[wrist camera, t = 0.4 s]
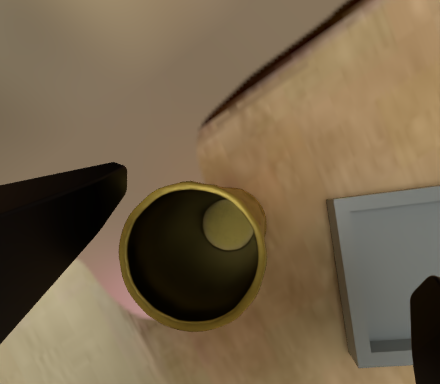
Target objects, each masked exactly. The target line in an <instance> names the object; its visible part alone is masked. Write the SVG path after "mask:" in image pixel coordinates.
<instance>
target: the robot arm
mask: <svg viewBox="0 0 440 384" xmlns="http://www.w3.org/2000/svg"><path fill="white" fill-rule="evenodd" d="M126 190H127V169H126V167H125V166H123V165H121V164H118V163H115V162H111V163H106V164H102V165H97V166H92V167H87V168H83V169H77V170H73V171H68V172H63V173H58V174H53V175H48V176H43V177H38V178H34V179H29V180H24V181H19V182H14V183H10V184H5V185H0V344H1V343H2V342H3V340H4V339H5V338H6V337H7V336H8V335H9V334H10V332H11V331H12V330H13V329H14V328H15V327H16V326H17V325H18V323H19V322H20V321H21V320H22V319H23V318H24V317H25V315H26V314H27V313H28V312H29V311H30V310H31V309H32V307H33V306H34V305H35V304H36V303H37V302H38V301H39V300H40V298H41V297H42V296H43V295H44V294H45V293H46V292H47V290H48V289H49V288H50V287H51V286H52V285H53V284H54V282H55V281H56V280H57V279H58V278H59V277H60V276H61V274H62V273H63V272H64V271H65V270H66V269H67V268H68V267H69V265H70V264H71V263H72V262H73V261H74V260H75V259H76V257H77V256H78V255H79V254H80V253H81V252H82V251H83V249H84V248H85V247H86V246H87V245H88V244H89V243H90V241H91V240H92V239H93V238H94V237H95V236H96V235H97V233H98V232H99V231H100V229H101V228H102V227H103V225H104V224H105V222H106V221H107V219H108V218H109V217H110V215H111V214H112V212H113V211H114V210H115V208H116V207H117V205H118V204H119V202H120V201H121V200H122V198H123V197H124V195H125V193H126ZM410 321H411V348H412V359H413V367H414V374H415V381H416V384H440V277H438V276H435V275H431V276H429V277H427V278H426V279H425V280H424V281H423V282H422V283H421V284H420V285H419V286H418V287H417V288H416V289H415V290H414V291H413V293H412V295H411V297H410Z"/></svg>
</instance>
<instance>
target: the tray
mask: <svg viewBox="0 0 440 384" xmlns="http://www.w3.org/2000/svg"><path fill="white" fill-rule="evenodd" d="M326 201H327V208H328V215H329V222H330V228H331V235H332V242H333V249H334V255H335V262H336V269H337V276H338V282H339V289H340V296H341V303H342V310H343V316H344V323H345V330H346V337H347V343H348V350H349V353H350V355H351V356H352V358H353V360H354V361H355V363H356V365H357V366H358V368H370V367H388V366H405V365H413V359H412V348H411V321H410V297H411V295H412V293H413V291H414V290H415V289H416V288H417V287H418V286H419V285H420V284H421V283H422V282H423V281H424V280H425V279H426V278H427V277H429V276H431V275H435V276H438V277H440V185H438V186H430V187H422V188H414V189H406V190H398V191H391V192H383V193H375V194H367V195H359V196H351V197H343V198H335V199H327V200H326Z"/></svg>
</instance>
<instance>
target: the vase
mask: <svg viewBox="0 0 440 384" xmlns="http://www.w3.org/2000/svg"><path fill="white" fill-rule="evenodd" d="M265 234H266V216H265V213H264V211H263V208H262V207H261V205H260V203H259V202H258V201H257V200H256V198H254V197H253V196H252V195H251V194H249V193H248V192H246V191H244V190H242V189H238V188H223V187H219V186H217V185H209V184H202V183H198V182H193V181H186V182H180V183H176V184H172V185H168V186H165V187H162V188H159V189H157V190H156V191H154V192H152V193H151V194H150V195H148V196H147V197H146V198H145V199H144V200H143V201H142V202H141V203H140V204H139V205H138V206H137V207H136V208H135V209H134V210H133V211H132V213H131V214H130V215H129V217H128V219H127V221H126V223H125V225H124V228H123V231H122V234H121V239H120V245H119V260H120V266H121V272H122V277H123V279H124V283H125V285H126V287H127V290H128V292H129V293H130V295H131V296H132V297H133V299H134V300H135V302H136V303H137V304H138V305H139V306H140V307H141V308H142V309H143V311H144V312H145V313H146V314H147V315H149V316H150V317H152V318H153V319H155V320H156V321H158V322H160V323H161V324H163V325H165V326H168V327H171V328H174V329H177V330H183V331H188V332H200V331H207V330H212V329H216V328H219V327H222V326H224V325H226V324H228V323H230V322H232V321H234V320H235V319H237V318H238V317H239V316H240V315H241V314H242V313H243V312H244V311H245V310H246V309H247V307H248V306H249V305H250V304H251V303H252V301H253V300H254V299H255V297H256V295H257V293H258V291H259V289H260V286H261V283H262V279H263V276H264V273H265V269H266V263H267V252H266V247H265V241H264V237H265Z"/></svg>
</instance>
